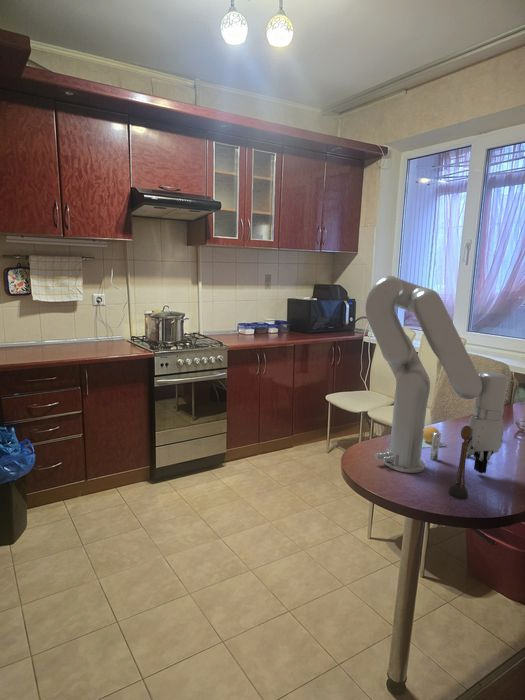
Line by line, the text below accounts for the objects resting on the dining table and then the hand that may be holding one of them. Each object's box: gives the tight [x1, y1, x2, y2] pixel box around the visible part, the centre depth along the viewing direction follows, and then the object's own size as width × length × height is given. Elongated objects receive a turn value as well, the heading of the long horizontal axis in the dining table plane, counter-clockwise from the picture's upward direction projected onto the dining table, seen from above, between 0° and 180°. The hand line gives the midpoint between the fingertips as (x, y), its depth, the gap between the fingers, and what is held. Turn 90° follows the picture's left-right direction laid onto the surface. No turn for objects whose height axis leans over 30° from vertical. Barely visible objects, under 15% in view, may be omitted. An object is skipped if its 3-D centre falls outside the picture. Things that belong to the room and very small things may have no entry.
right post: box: [466, 447, 472, 459], centre depth 148 cm, size 2×2×9 cm
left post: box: [429, 431, 442, 462], centre depth 144 cm, size 2×2×9 cm
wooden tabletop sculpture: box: [448, 425, 473, 500], centre depth 120 cm, size 6×5×20 cm
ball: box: [423, 425, 440, 443], centre depth 159 cm, size 6×6×6 cm
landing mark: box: [422, 439, 446, 449], centre depth 160 cm, size 10×10×1 cm
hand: (479, 471), depth 134 cm, fingers closed
